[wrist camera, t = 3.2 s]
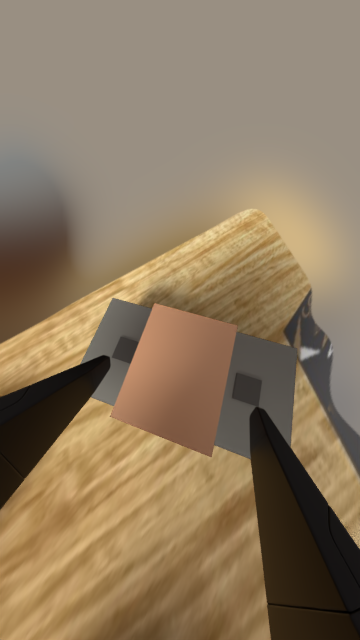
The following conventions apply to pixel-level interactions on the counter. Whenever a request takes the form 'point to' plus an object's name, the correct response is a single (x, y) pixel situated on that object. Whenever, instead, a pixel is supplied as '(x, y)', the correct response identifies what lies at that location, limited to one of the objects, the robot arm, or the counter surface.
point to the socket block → (242, 382)
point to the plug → (178, 378)
